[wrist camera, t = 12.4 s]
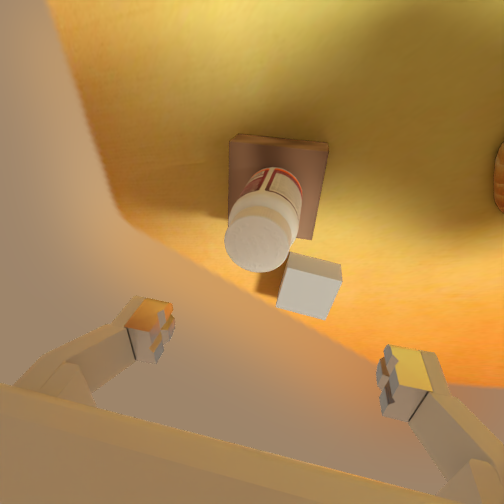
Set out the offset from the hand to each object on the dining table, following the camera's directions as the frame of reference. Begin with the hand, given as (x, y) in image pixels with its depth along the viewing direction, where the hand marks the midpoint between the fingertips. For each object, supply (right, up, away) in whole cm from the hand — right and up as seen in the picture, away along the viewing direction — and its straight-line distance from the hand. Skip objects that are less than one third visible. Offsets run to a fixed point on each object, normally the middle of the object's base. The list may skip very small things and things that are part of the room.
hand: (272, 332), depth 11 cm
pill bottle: (+2, +10, +21) cm, 23 cm away
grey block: (+7, 0, +31) cm, 32 cm away
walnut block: (+2, +12, +24) cm, 27 cm away
